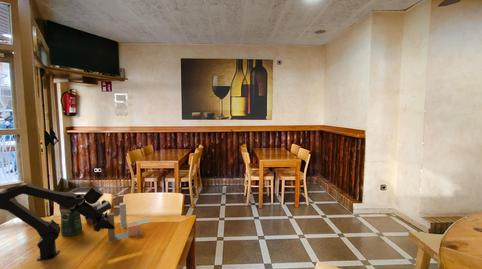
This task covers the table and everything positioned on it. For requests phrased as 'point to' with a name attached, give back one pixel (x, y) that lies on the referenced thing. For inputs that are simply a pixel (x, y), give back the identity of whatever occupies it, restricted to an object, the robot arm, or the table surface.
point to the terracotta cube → (132, 229)
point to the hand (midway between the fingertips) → (114, 226)
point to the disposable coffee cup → (93, 206)
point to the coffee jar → (70, 222)
